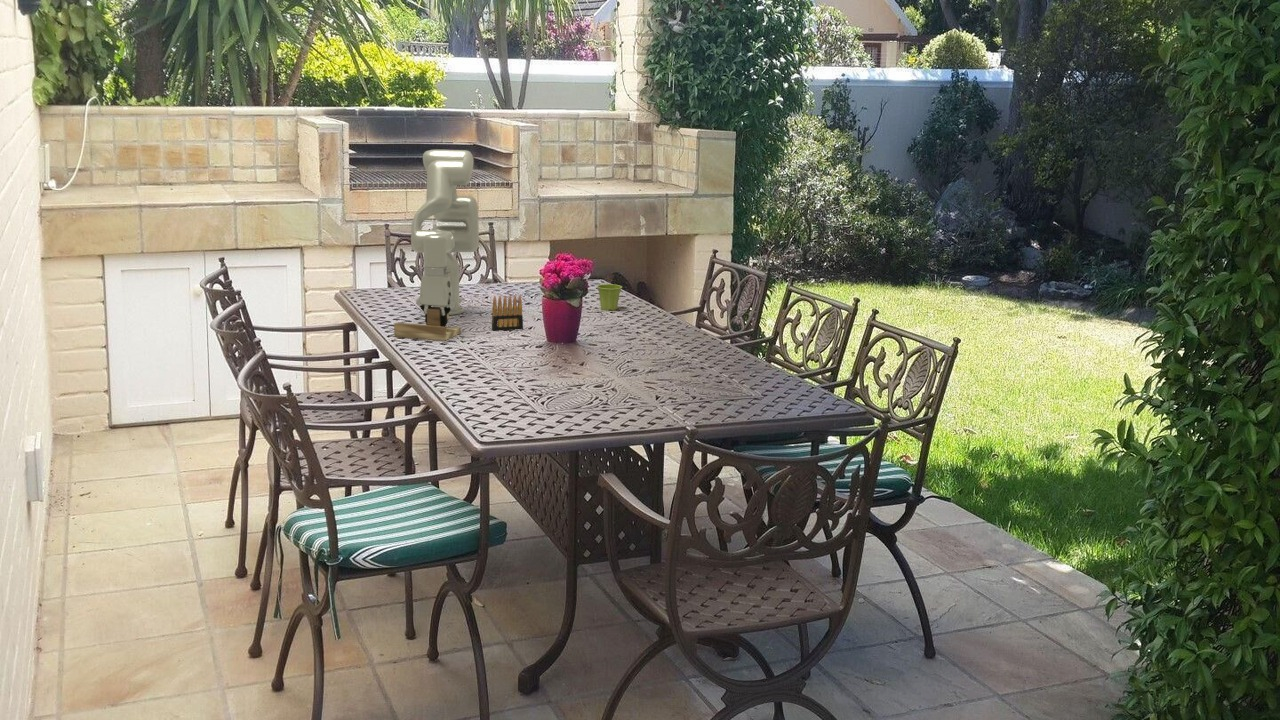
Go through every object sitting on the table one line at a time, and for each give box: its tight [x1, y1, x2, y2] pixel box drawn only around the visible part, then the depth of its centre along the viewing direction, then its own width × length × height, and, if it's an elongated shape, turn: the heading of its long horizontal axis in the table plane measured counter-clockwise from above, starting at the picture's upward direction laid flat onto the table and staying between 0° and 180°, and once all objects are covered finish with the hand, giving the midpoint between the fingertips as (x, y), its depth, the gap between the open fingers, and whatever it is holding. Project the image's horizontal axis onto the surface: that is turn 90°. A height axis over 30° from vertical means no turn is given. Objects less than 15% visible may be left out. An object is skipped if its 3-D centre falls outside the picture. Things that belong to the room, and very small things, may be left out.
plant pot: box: [596, 283, 623, 311], centre depth 476 cm, size 9×9×9 cm
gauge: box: [427, 306, 451, 327], centre depth 427 cm, size 12×4×7 cm, turn 163°
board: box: [393, 322, 462, 342], centre depth 425 cm, size 13×18×4 cm
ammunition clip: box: [491, 294, 524, 332], centre depth 436 cm, size 11×2×12 cm, turn 110°
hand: (436, 325), depth 425 cm, fingers closed on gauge, 4 cm apart
